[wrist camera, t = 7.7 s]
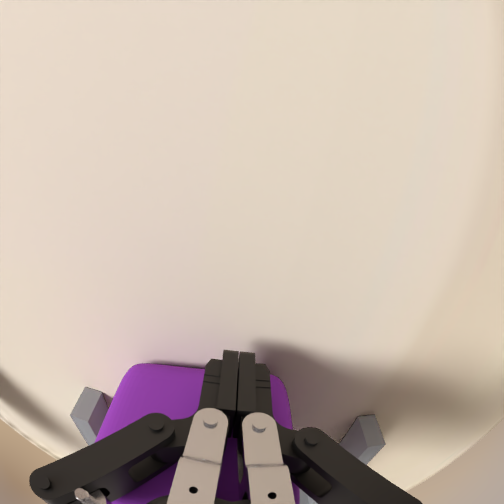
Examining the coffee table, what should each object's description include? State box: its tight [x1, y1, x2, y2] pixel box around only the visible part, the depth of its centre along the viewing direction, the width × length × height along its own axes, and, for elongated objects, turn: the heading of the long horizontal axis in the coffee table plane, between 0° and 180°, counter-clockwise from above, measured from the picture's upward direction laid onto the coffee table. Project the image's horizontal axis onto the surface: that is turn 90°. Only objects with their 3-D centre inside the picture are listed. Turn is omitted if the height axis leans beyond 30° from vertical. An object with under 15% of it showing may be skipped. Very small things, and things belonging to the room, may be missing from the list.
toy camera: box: [94, 363, 300, 504], centre depth 12 cm, size 11×14×10 cm
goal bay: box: [70, 387, 385, 504], centre depth 18 cm, size 22×16×3 cm
